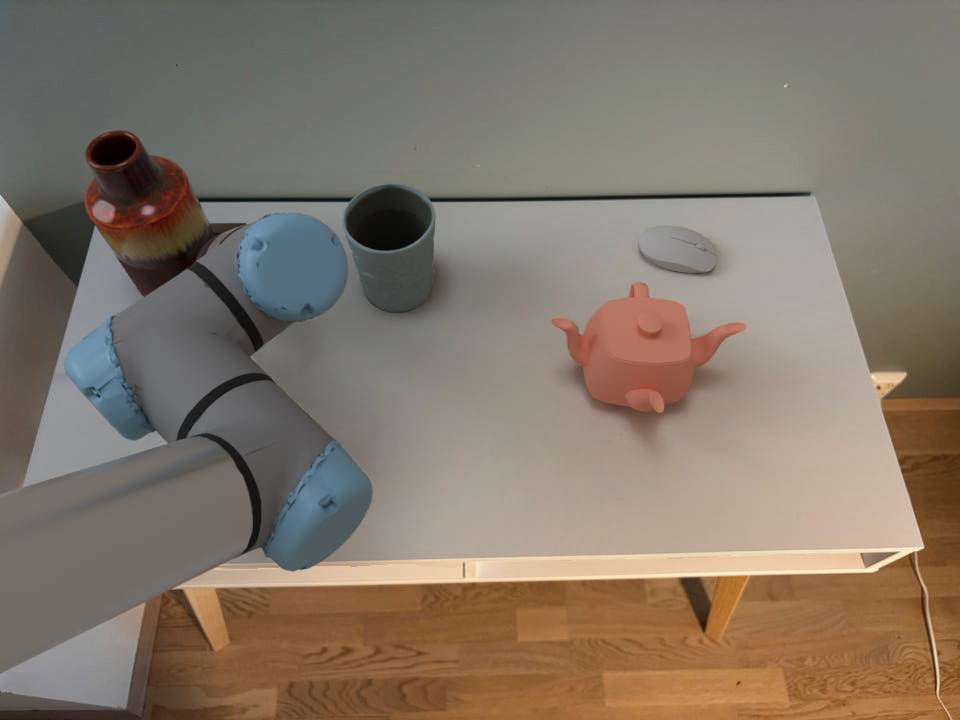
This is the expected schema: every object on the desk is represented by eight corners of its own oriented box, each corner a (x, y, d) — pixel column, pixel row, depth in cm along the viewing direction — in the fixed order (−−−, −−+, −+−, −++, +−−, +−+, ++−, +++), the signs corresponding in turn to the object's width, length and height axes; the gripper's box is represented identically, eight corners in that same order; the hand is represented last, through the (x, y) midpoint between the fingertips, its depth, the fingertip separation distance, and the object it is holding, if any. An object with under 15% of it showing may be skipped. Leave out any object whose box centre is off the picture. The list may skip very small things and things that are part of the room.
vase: (138, 246, 92) (60, 118, 75) (226, 233, 93) (168, 104, 76) (136, 316, 87) (50, 196, 69) (228, 301, 88) (168, 180, 70)
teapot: (718, 374, 84) (750, 322, 74) (638, 455, 79) (662, 410, 69) (621, 299, 89) (640, 241, 79) (540, 370, 84) (550, 317, 74)
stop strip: (248, 228, 94) (245, 222, 93) (246, 238, 93) (244, 232, 92) (138, 229, 93) (134, 223, 92) (135, 239, 93) (131, 233, 92)
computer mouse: (713, 280, 90) (720, 265, 88) (633, 265, 91) (638, 250, 89) (716, 243, 93) (723, 228, 91) (638, 230, 94) (643, 214, 92)
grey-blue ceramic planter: (363, 323, 87) (349, 260, 76) (351, 257, 92) (335, 189, 81) (447, 307, 88) (444, 243, 78) (430, 243, 93) (425, 174, 82)
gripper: (212, 353, 62) (169, 340, 82) (331, 265, 66) (263, 272, 87) (152, 280, 59) (123, 285, 79) (281, 193, 64) (222, 218, 84)
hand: (196, 278), depth 83 cm, fingers closed
